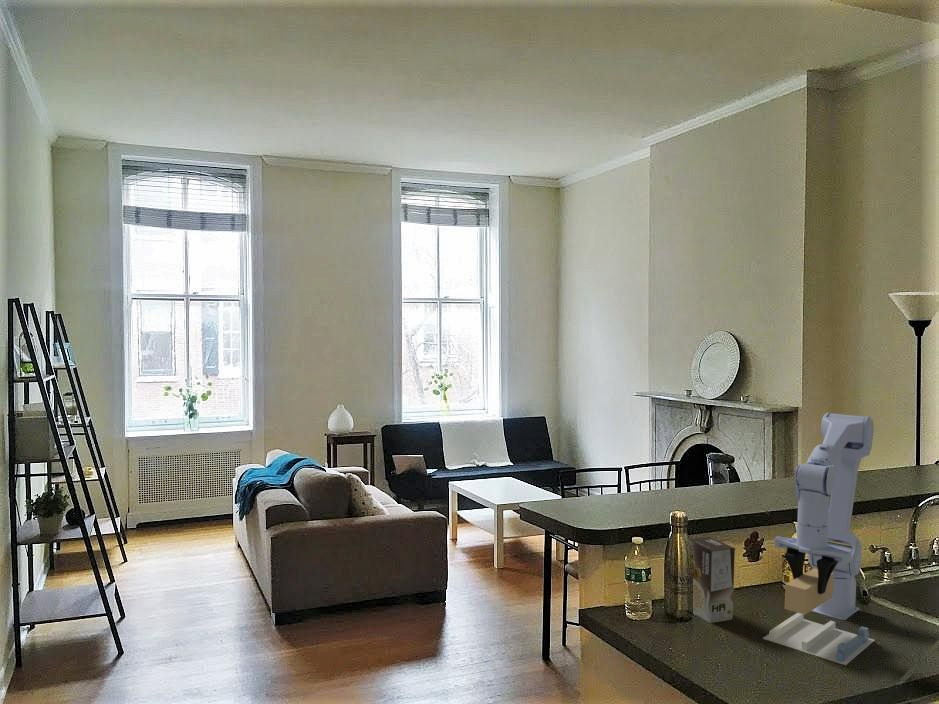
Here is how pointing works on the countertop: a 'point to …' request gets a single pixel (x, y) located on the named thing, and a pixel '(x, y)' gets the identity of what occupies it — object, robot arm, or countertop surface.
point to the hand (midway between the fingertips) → (809, 589)
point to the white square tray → (820, 639)
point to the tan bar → (806, 592)
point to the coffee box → (712, 579)
